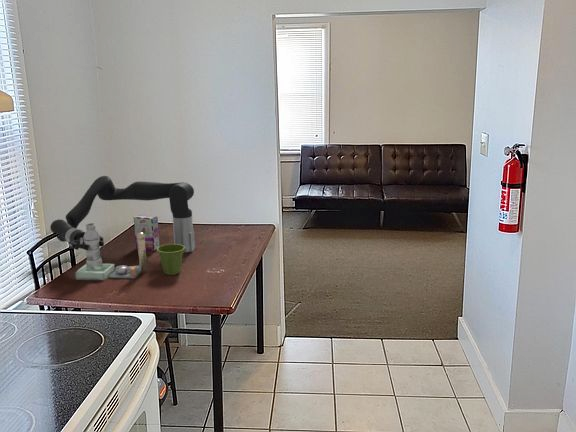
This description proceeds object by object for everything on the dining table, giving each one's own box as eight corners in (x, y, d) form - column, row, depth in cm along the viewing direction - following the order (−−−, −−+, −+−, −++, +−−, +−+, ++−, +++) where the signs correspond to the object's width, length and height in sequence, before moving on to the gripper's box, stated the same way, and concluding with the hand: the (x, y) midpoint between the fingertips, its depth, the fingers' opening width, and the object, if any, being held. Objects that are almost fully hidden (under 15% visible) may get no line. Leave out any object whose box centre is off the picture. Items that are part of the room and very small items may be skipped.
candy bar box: (160, 248, 271) (158, 216, 267) (154, 251, 267) (152, 218, 262) (141, 245, 275) (139, 214, 271) (135, 248, 271) (132, 216, 267)
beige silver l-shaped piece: (115, 274, 232) (112, 236, 227) (115, 270, 236) (112, 233, 232) (147, 271, 235) (145, 233, 231) (147, 267, 240) (144, 230, 236)
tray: (115, 270, 240) (114, 263, 239) (104, 280, 229) (103, 273, 228) (87, 270, 241) (86, 263, 240) (75, 279, 230) (74, 272, 229)
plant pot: (162, 279, 229) (160, 253, 227) (155, 270, 240) (153, 246, 237) (189, 274, 235) (188, 249, 232) (181, 266, 245) (180, 242, 242)
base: (141, 271, 238) (140, 269, 238) (134, 278, 231) (134, 276, 230) (116, 271, 239) (116, 269, 239) (109, 277, 231) (109, 275, 231)
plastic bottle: (106, 267, 236) (102, 223, 231) (94, 272, 230) (90, 227, 225) (94, 265, 239) (90, 221, 233) (83, 270, 233) (78, 225, 227)
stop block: (135, 274, 235) (134, 266, 234) (135, 276, 233) (134, 269, 232) (131, 274, 235) (130, 267, 234) (131, 277, 232) (130, 269, 231)
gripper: (93, 242, 247) (111, 250, 236) (62, 249, 237) (79, 258, 226) (92, 226, 245) (110, 234, 234) (60, 233, 235) (77, 241, 224)
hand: (95, 246), depth 230 cm, fingers closed on plastic bottle, 6 cm apart
